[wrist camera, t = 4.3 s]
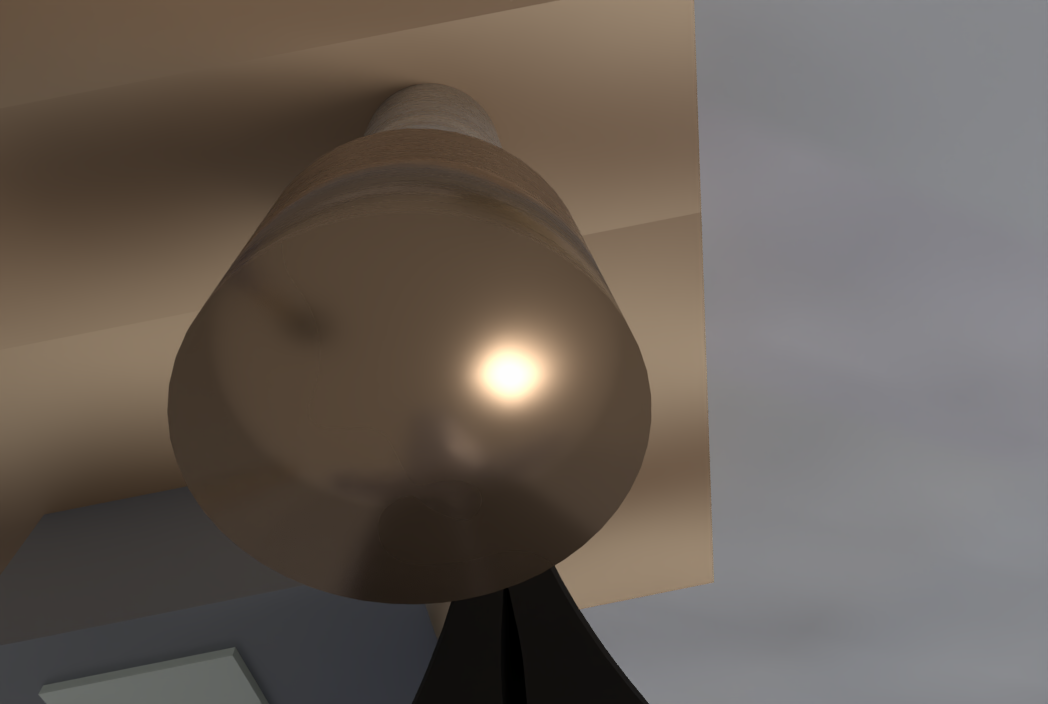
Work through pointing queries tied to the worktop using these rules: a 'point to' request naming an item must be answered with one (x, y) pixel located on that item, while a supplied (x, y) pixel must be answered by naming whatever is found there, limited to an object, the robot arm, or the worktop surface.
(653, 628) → the worktop surface
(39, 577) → the block
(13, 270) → the board
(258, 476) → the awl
